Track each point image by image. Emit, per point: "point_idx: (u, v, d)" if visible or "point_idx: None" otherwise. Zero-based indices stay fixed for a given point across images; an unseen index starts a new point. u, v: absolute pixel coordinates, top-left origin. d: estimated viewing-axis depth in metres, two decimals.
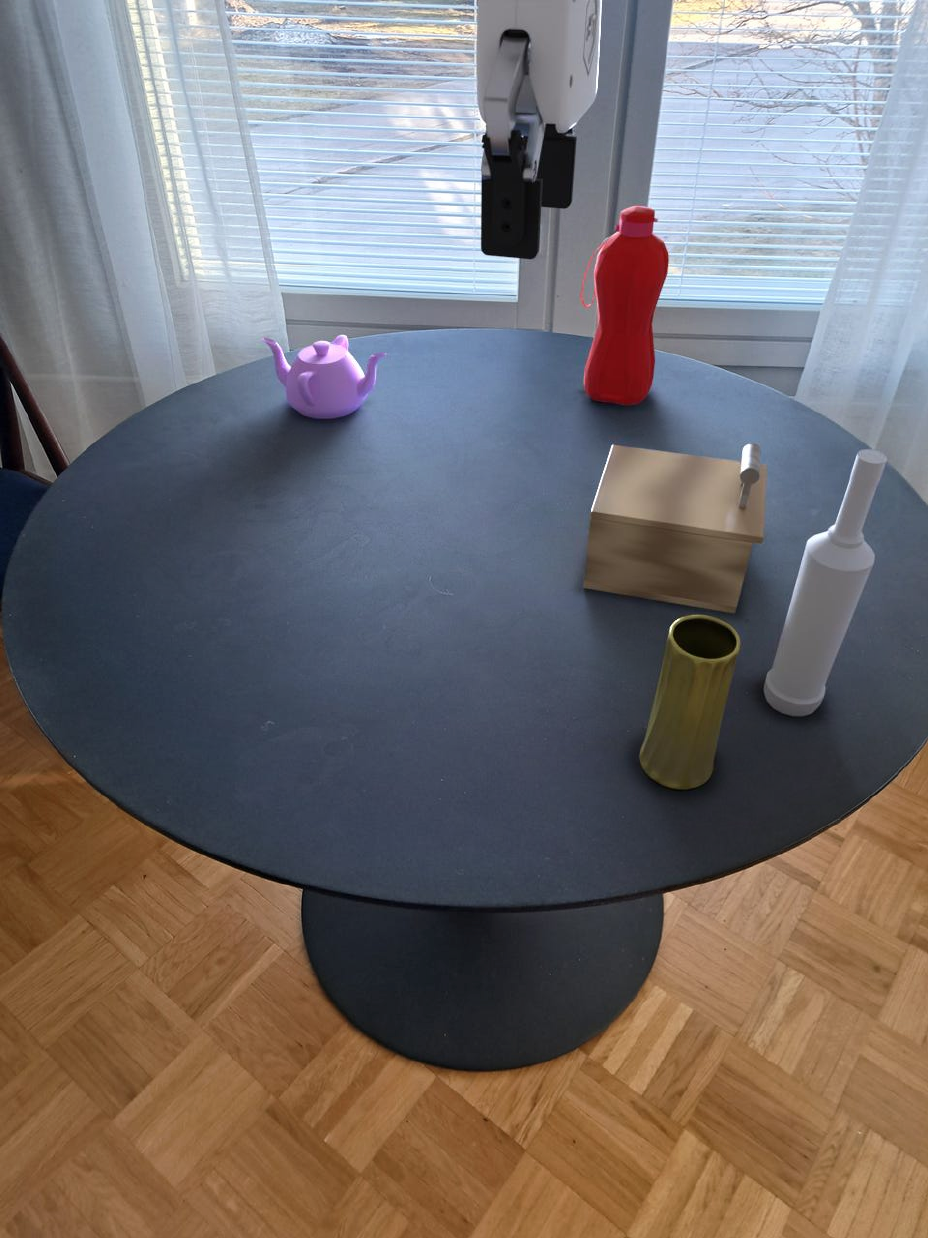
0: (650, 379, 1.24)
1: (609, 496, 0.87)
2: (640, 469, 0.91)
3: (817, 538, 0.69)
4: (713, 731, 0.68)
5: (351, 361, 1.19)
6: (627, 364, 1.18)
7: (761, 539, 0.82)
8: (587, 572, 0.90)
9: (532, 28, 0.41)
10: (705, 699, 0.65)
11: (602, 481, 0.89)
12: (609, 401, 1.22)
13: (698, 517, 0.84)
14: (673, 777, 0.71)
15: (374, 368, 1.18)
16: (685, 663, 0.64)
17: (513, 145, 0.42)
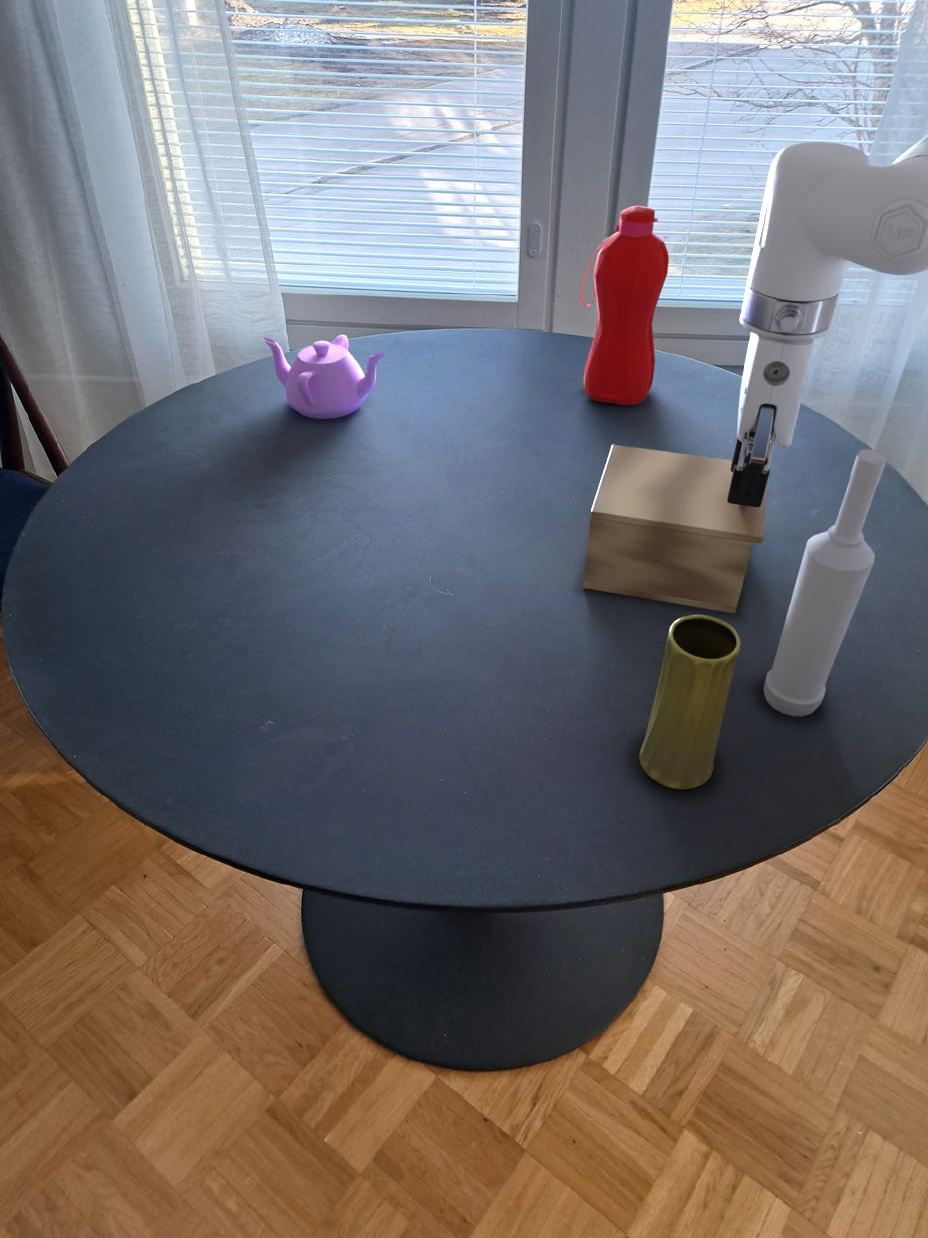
0: (650, 379, 1.24)
1: (609, 496, 0.87)
2: (640, 469, 0.91)
3: (817, 538, 0.69)
4: (713, 731, 0.68)
5: (351, 361, 1.19)
6: (627, 364, 1.18)
7: (761, 539, 0.82)
8: (587, 572, 0.90)
9: (779, 404, 0.75)
10: (705, 699, 0.65)
11: (602, 481, 0.89)
12: (609, 401, 1.22)
13: (698, 517, 0.84)
14: (673, 777, 0.71)
15: (374, 368, 1.18)
16: (685, 663, 0.64)
17: (763, 463, 0.78)
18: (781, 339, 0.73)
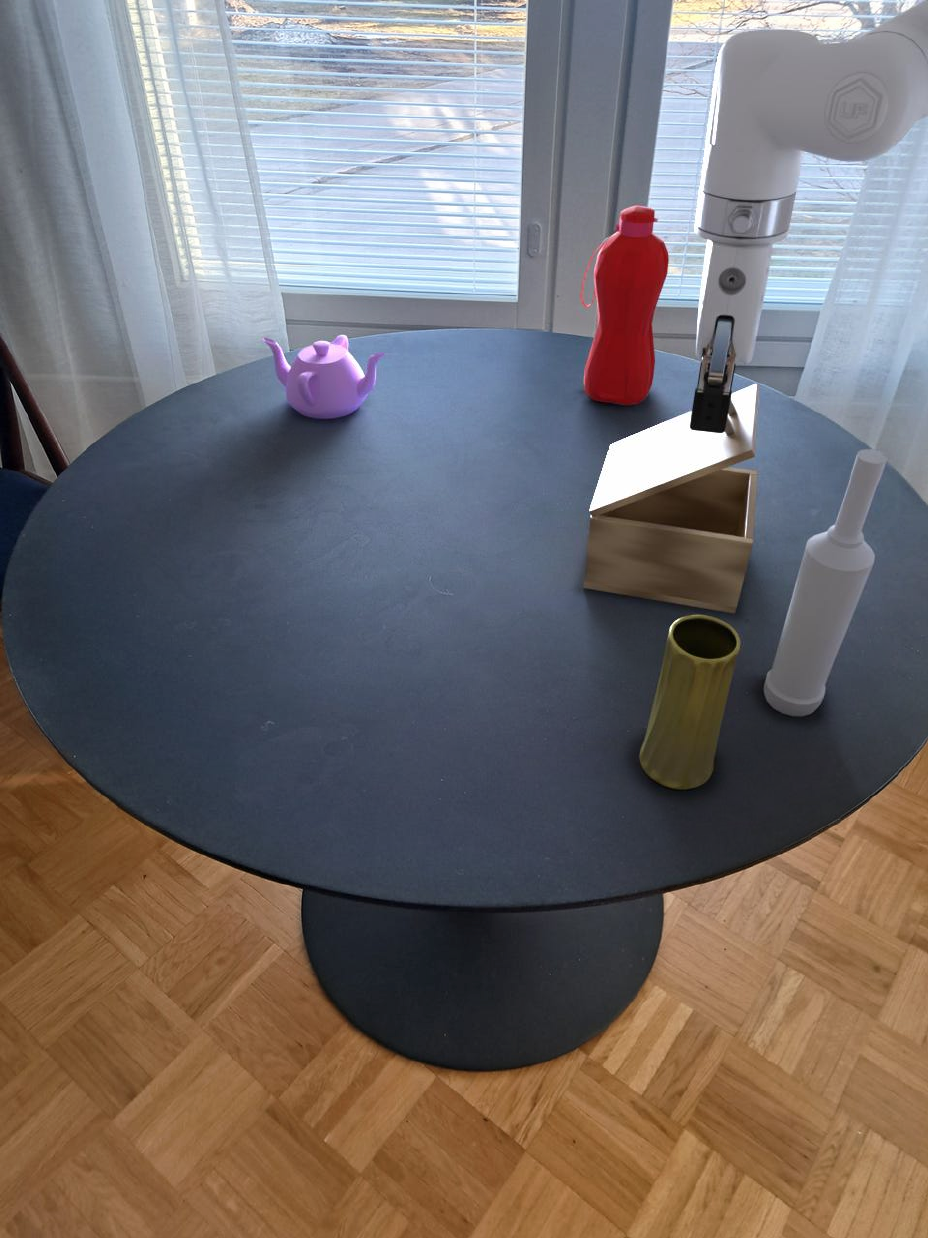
0: (650, 379, 1.24)
1: (605, 490, 0.87)
2: (634, 452, 0.90)
3: (817, 538, 0.69)
4: (713, 731, 0.68)
5: (351, 361, 1.19)
6: (627, 364, 1.18)
7: (751, 452, 0.77)
8: (587, 572, 0.90)
9: (736, 315, 0.72)
10: (705, 699, 0.65)
11: (600, 480, 0.89)
12: (609, 401, 1.22)
13: (687, 465, 0.81)
14: (673, 777, 0.71)
15: (374, 368, 1.18)
16: (685, 663, 0.64)
17: (723, 381, 0.75)
18: (736, 244, 0.70)
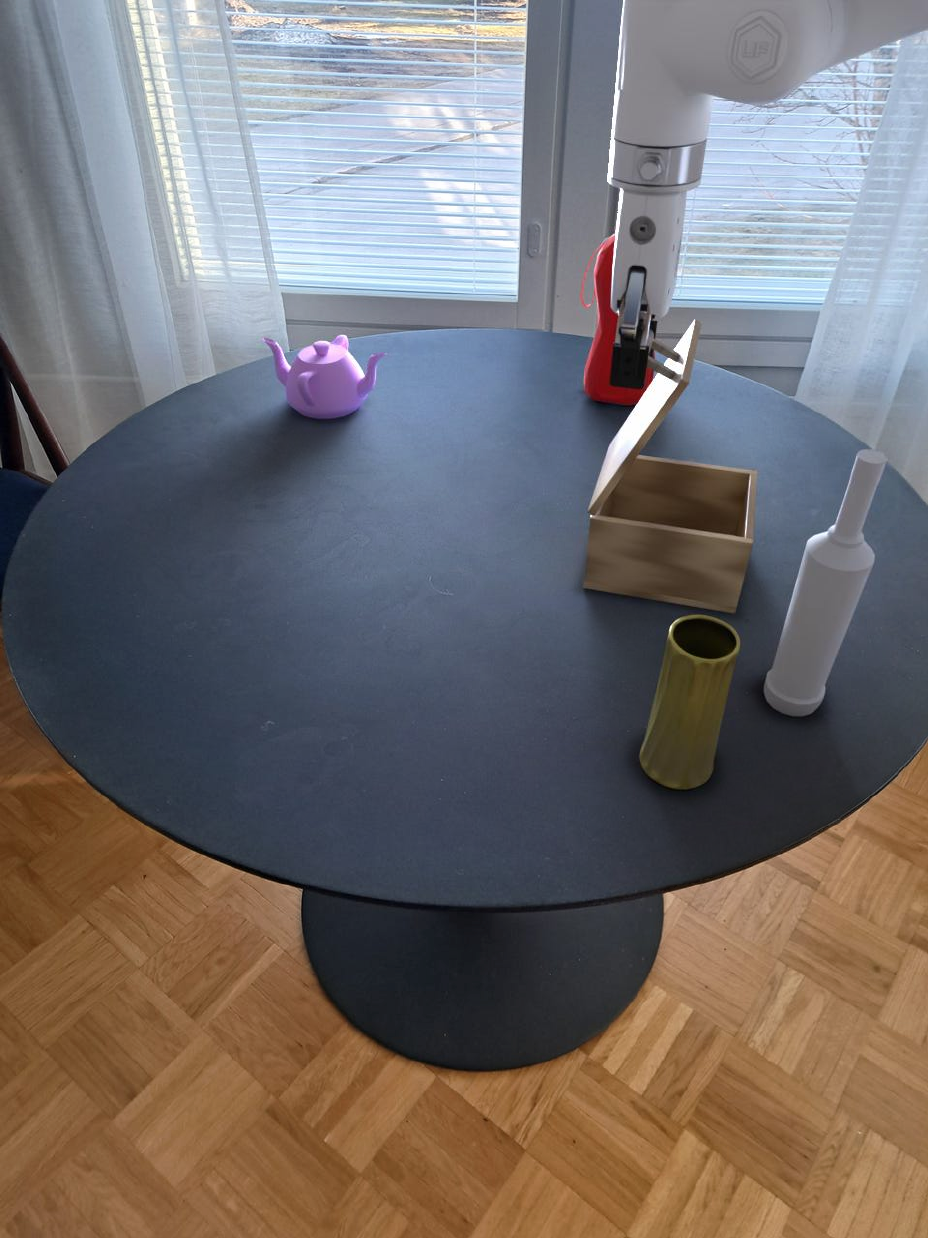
0: (650, 379, 1.24)
1: (599, 486, 0.87)
2: (619, 440, 0.90)
3: (817, 538, 0.69)
4: (713, 731, 0.68)
5: (351, 361, 1.19)
6: None
7: (683, 381, 0.75)
8: (587, 572, 0.90)
9: (648, 265, 0.71)
10: (705, 699, 0.65)
11: (597, 481, 0.90)
12: (609, 401, 1.22)
13: (644, 425, 0.80)
14: (673, 777, 0.71)
15: (374, 368, 1.18)
16: (685, 663, 0.64)
17: (637, 334, 0.74)
18: (646, 192, 0.69)
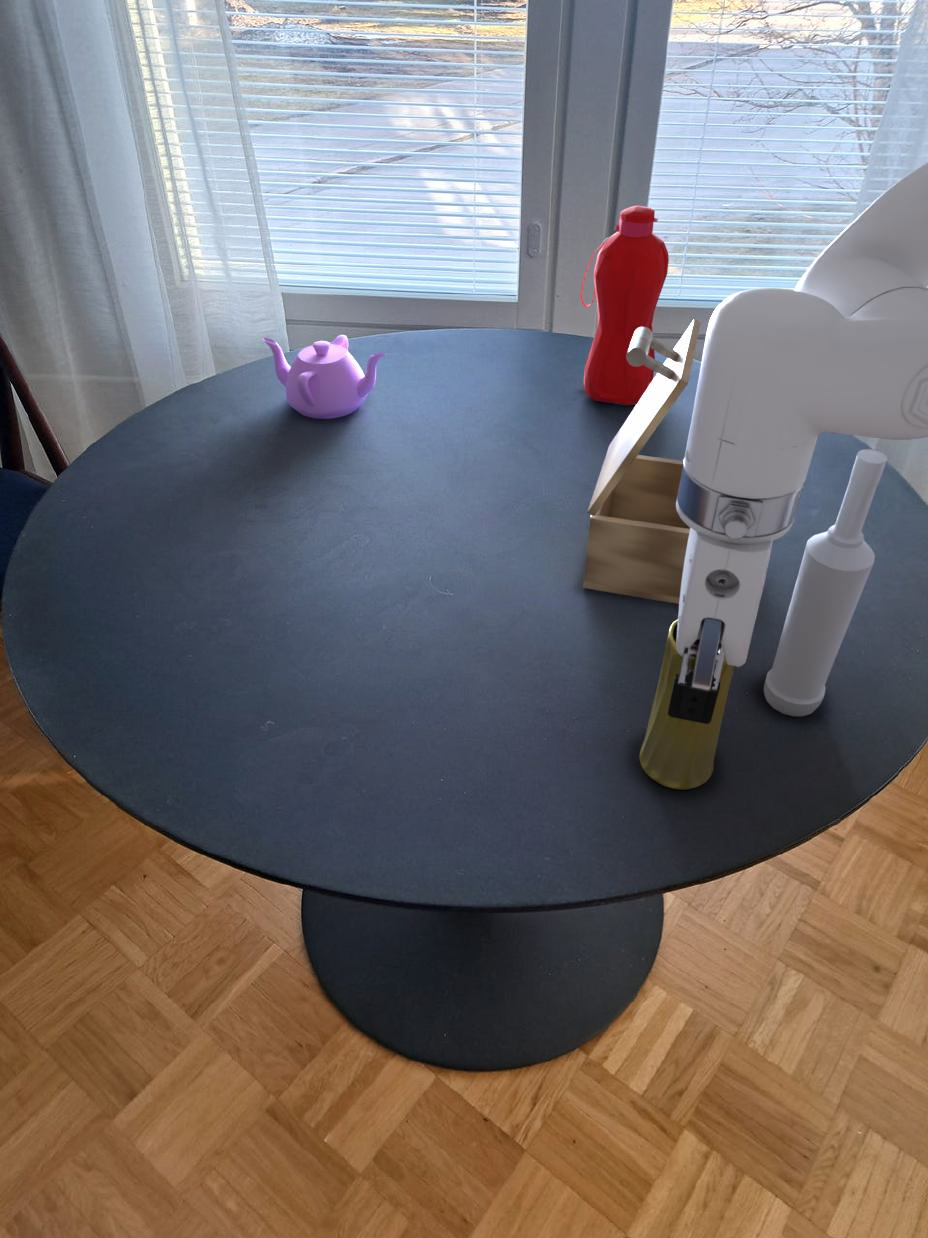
0: (650, 379, 1.24)
1: (598, 486, 0.87)
2: (619, 440, 0.90)
3: (817, 538, 0.69)
4: (713, 731, 0.68)
5: (351, 361, 1.19)
6: (627, 364, 1.18)
7: (682, 381, 0.74)
8: (587, 572, 0.90)
9: (727, 620, 0.57)
10: None
11: (597, 481, 0.90)
12: (609, 401, 1.22)
13: (644, 425, 0.80)
14: (673, 776, 0.71)
15: (374, 368, 1.18)
16: None
17: (709, 687, 0.60)
18: (728, 541, 0.55)
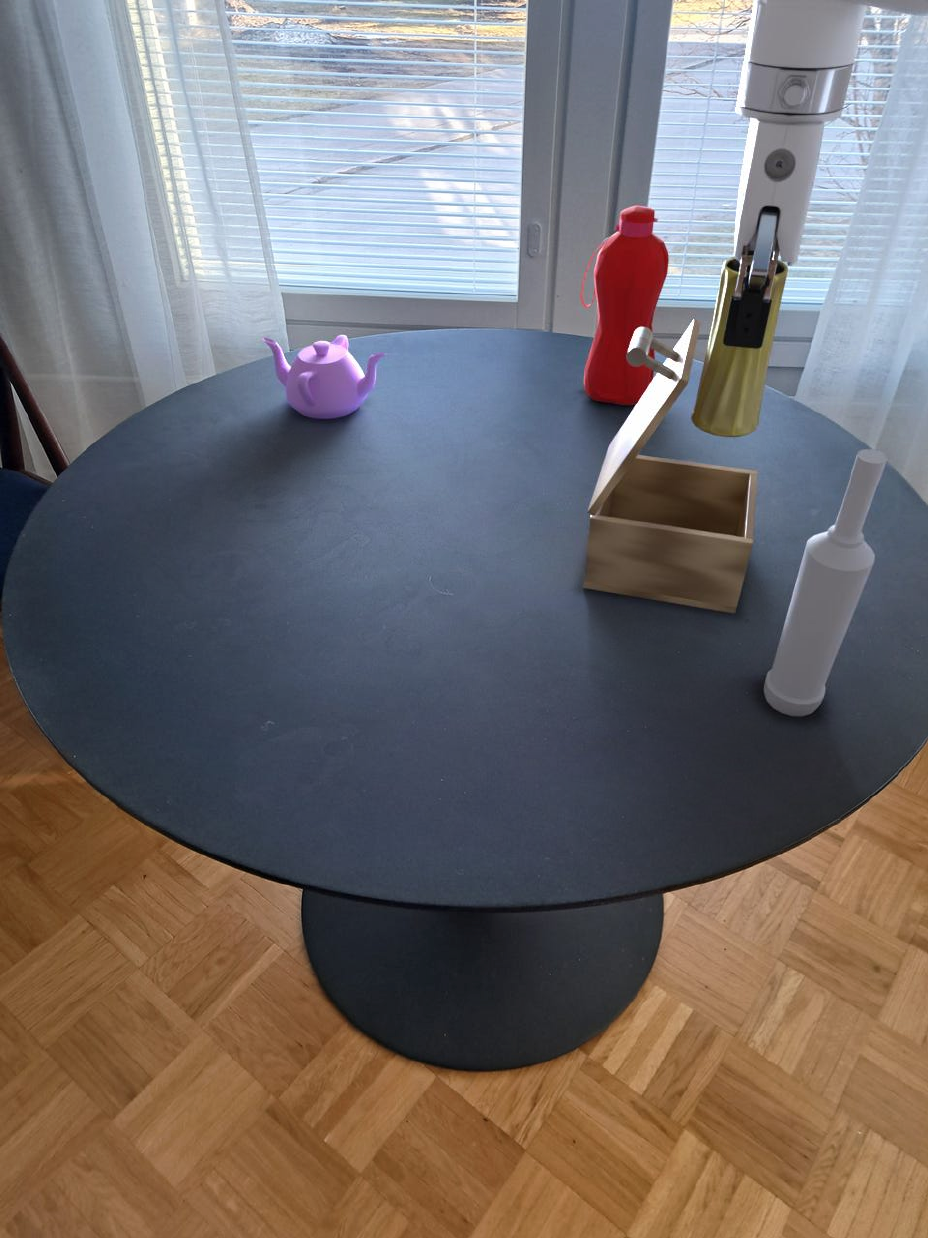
0: (650, 379, 1.24)
1: (598, 486, 0.87)
2: (619, 440, 0.90)
3: (817, 538, 0.69)
4: (761, 367, 0.75)
5: (351, 361, 1.19)
6: (627, 364, 1.18)
7: (682, 381, 0.74)
8: (587, 572, 0.90)
9: (783, 206, 0.64)
10: None
11: (597, 481, 0.90)
12: (609, 401, 1.22)
13: (644, 425, 0.80)
14: (723, 423, 0.78)
15: (374, 368, 1.18)
16: None
17: (765, 284, 0.67)
18: (785, 122, 0.62)
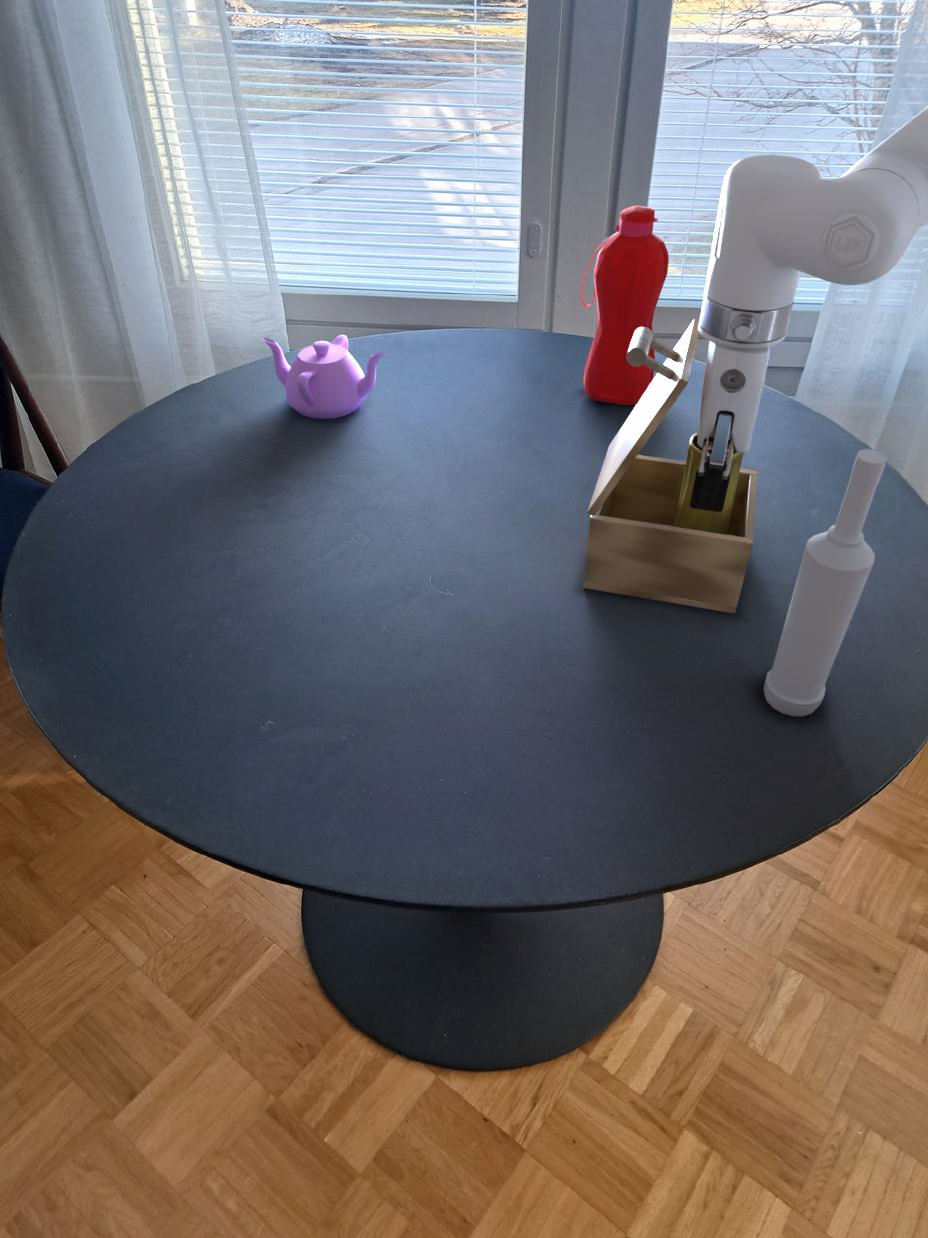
0: (650, 379, 1.24)
1: (598, 486, 0.87)
2: (619, 440, 0.90)
3: (817, 538, 0.69)
4: (724, 523, 0.88)
5: (351, 361, 1.19)
6: (627, 364, 1.18)
7: (682, 381, 0.74)
8: (587, 572, 0.90)
9: (736, 411, 0.77)
10: None
11: (597, 481, 0.90)
12: (609, 401, 1.22)
13: (644, 425, 0.80)
14: None
15: (374, 368, 1.18)
16: None
17: (722, 469, 0.80)
18: (737, 347, 0.75)
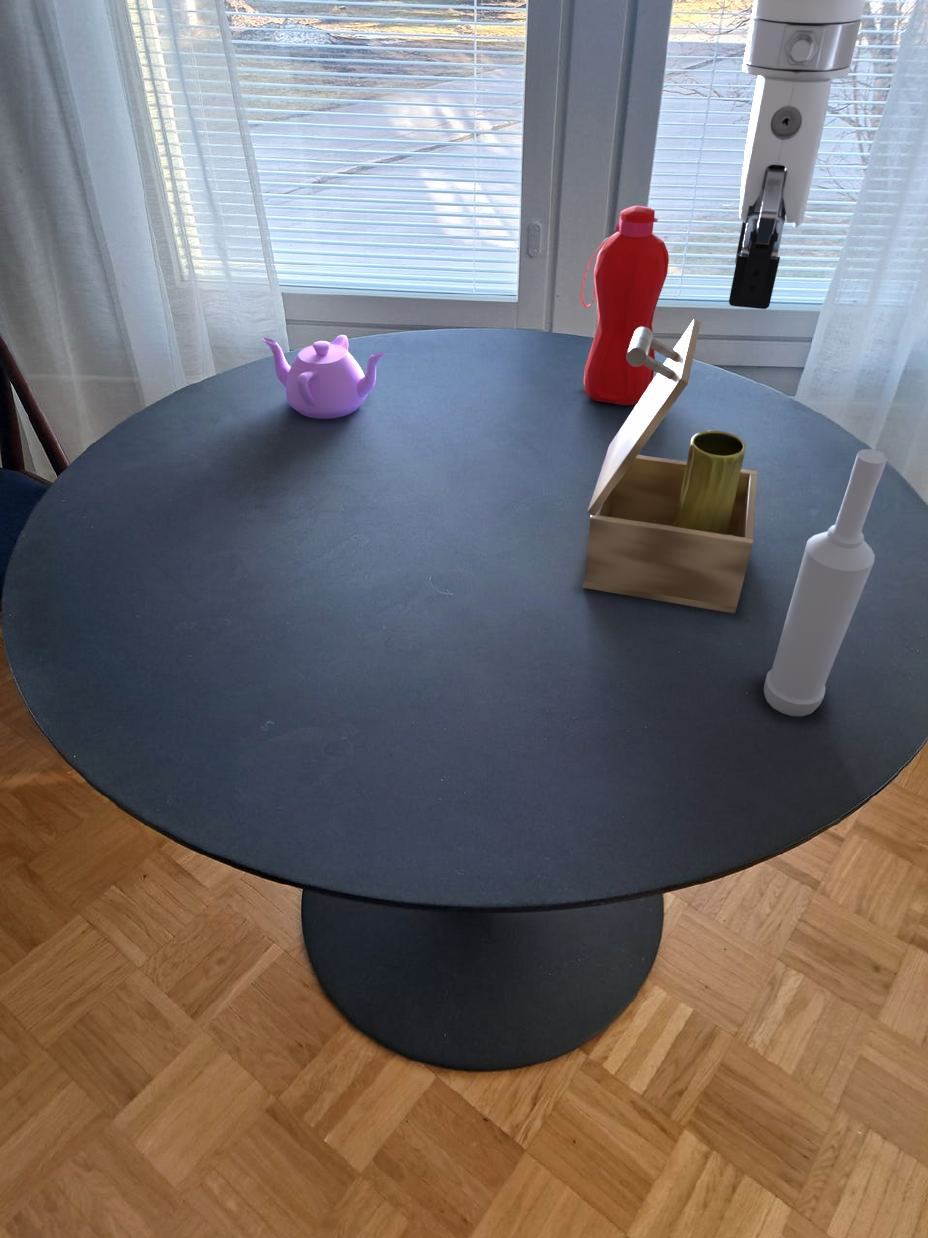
0: (650, 379, 1.24)
1: (598, 486, 0.87)
2: (619, 440, 0.90)
3: (817, 538, 0.69)
4: (724, 523, 0.88)
5: (351, 361, 1.19)
6: (627, 364, 1.18)
7: (682, 381, 0.74)
8: (587, 572, 0.90)
9: (789, 164, 0.64)
10: (719, 492, 0.85)
11: (597, 481, 0.90)
12: (609, 401, 1.22)
13: (644, 425, 0.80)
14: None
15: (374, 368, 1.18)
16: (704, 461, 0.84)
17: (773, 239, 0.65)
18: (792, 79, 0.62)
